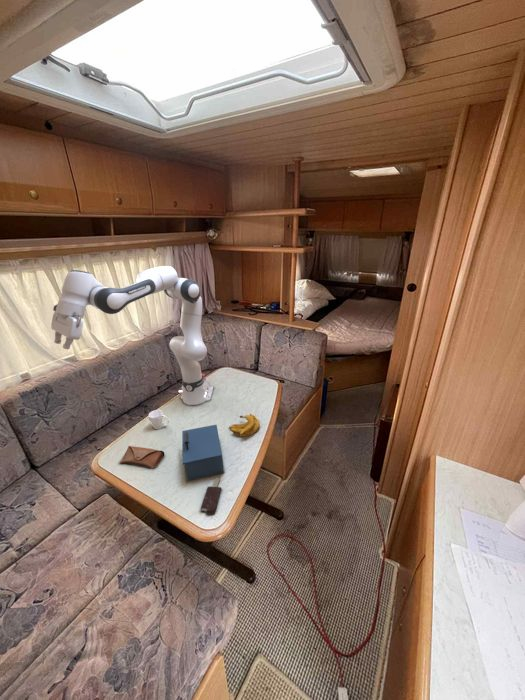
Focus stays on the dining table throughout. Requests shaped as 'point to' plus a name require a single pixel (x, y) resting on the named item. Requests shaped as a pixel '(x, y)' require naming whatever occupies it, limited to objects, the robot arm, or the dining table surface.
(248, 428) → the banana
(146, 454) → the sunglasses case
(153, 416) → the cup
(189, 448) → the cool box lid
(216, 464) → the cool box
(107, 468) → the dining table surface
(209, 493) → the ice cream bar
